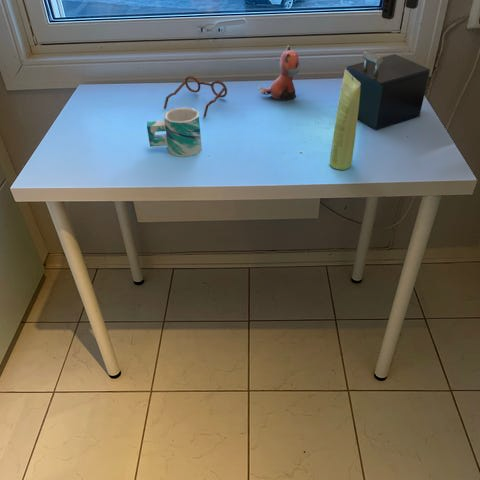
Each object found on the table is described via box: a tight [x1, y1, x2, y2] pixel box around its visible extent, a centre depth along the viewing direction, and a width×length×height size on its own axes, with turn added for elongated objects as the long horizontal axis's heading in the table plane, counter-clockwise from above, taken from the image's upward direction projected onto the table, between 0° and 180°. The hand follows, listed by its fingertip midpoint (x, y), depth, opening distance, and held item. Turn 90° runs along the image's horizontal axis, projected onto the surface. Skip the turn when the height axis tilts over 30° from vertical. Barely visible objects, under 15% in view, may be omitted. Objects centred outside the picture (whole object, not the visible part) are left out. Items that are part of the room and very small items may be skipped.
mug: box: [146, 106, 203, 158], centre depth 122 cm, size 8×12×8 cm
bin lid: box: [346, 50, 431, 86], centre depth 126 cm, size 15×13×5 cm
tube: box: [329, 68, 361, 171], centre depth 110 cm, size 6×5×20 cm
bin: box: [348, 71, 430, 131], centre depth 131 cm, size 15×13×11 cm
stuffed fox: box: [257, 44, 301, 101], centre depth 141 cm, size 8×11×12 cm
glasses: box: [163, 75, 228, 118], centre depth 141 cm, size 13×13×5 cm
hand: (399, 13), depth 98 cm, fingers open, 8 cm apart
